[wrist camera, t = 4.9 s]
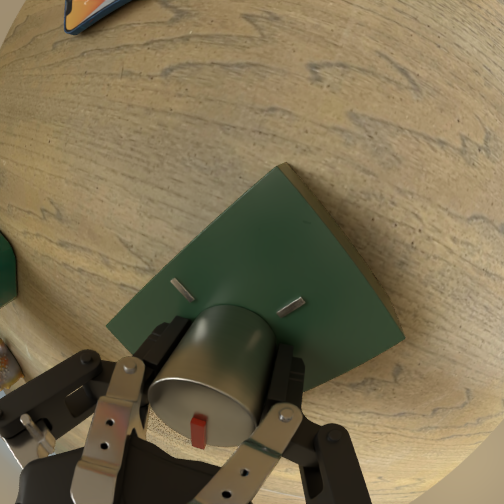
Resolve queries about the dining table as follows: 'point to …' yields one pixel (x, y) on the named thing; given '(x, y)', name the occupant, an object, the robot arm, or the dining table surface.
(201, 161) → the dining table surface
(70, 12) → the smartphone
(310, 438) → the robot arm
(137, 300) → the green tick-marked base
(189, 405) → the steel cylinder red marker
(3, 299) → the pitcher
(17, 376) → the mug
